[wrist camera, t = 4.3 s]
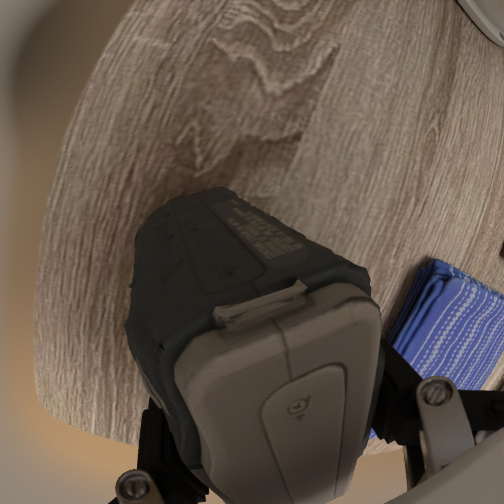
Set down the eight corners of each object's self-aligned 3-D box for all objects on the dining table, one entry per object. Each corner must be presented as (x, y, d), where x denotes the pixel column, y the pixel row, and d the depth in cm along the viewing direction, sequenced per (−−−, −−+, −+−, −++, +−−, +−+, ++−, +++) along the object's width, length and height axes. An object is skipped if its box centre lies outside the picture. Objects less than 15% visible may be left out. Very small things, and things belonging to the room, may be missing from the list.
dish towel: (419, 249, 16) (448, 263, 14) (519, 300, 23) (534, 310, 20) (313, 435, 20) (324, 459, 18) (453, 412, 27) (464, 424, 24)
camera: (123, 208, 11) (71, 380, 2) (249, 175, 13) (453, 238, 4) (193, 392, 16) (250, 540, 7) (280, 361, 17) (372, 484, 8)
